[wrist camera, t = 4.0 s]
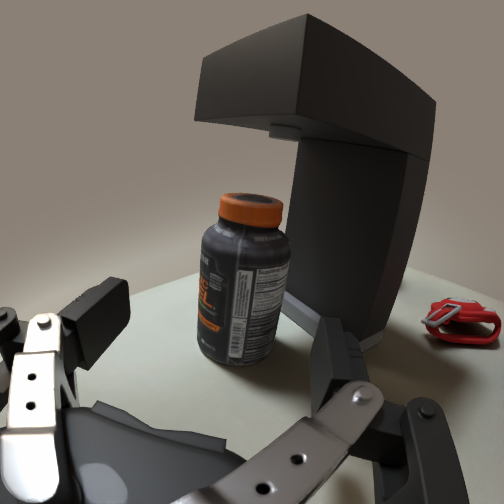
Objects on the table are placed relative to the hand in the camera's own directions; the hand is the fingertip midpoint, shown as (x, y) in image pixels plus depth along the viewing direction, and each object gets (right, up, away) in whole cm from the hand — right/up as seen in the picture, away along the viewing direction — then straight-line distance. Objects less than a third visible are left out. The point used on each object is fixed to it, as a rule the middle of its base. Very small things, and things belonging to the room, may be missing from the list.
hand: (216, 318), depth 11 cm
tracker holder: (+24, -6, +15) cm, 29 cm away
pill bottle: (0, -5, +11) cm, 12 cm away
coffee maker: (+4, -4, +13) cm, 14 cm away
